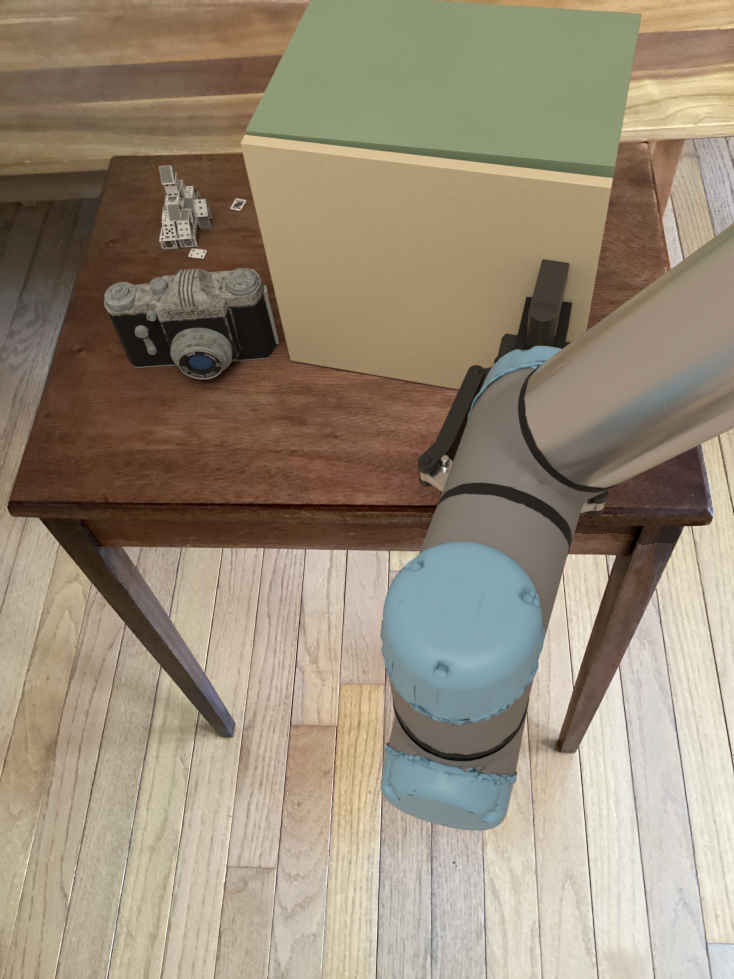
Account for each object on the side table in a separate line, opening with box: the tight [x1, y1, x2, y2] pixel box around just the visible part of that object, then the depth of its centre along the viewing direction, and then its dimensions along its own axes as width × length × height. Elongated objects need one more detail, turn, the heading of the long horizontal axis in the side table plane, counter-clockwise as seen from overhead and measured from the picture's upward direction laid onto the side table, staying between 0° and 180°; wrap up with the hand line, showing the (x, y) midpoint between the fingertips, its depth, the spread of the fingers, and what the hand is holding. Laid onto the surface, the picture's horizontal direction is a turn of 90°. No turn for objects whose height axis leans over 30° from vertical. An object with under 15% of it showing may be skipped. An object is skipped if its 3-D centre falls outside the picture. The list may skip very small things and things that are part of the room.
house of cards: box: [158, 164, 248, 260], centre depth 95 cm, size 9×9×8 cm
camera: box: [103, 267, 280, 381], centre depth 84 cm, size 15×7×10 cm, turn 91°
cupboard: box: [245, 0, 642, 179], centre depth 79 cm, size 18×26×24 cm
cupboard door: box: [240, 134, 614, 391], centre depth 73 cm, size 7×26×24 cm, turn 74°
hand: (547, 312), depth 72 cm, fingers closed on cupboard door, 2 cm apart
